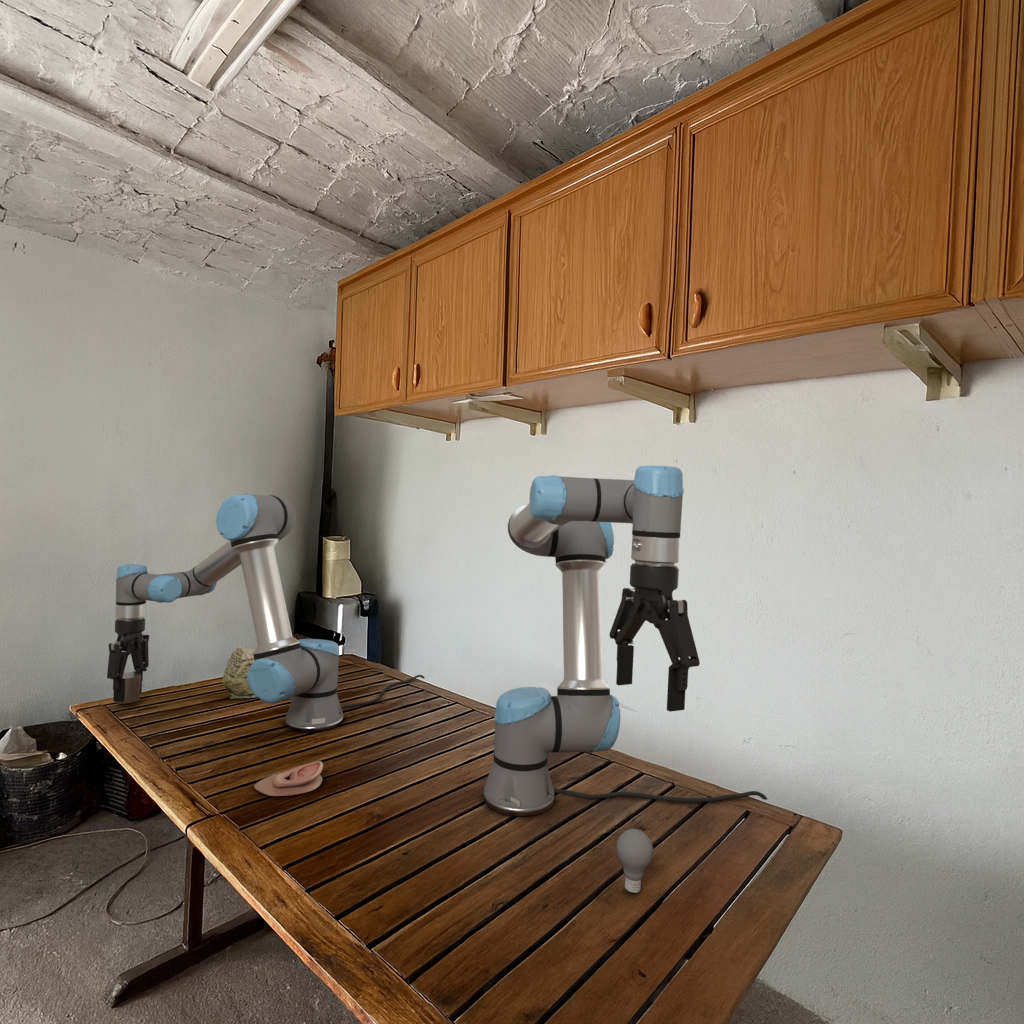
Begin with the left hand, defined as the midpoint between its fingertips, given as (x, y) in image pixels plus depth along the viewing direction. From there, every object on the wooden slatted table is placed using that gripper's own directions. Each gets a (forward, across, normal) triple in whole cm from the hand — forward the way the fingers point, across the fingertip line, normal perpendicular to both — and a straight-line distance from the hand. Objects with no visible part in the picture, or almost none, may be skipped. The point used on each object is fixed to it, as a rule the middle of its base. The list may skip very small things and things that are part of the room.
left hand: (127, 697), depth 183 cm
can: (+1, 0, 0) cm, 1 cm away
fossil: (+2, -18, +29) cm, 34 cm away
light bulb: (+2, +61, +140) cm, 153 cm away
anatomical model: (+2, +37, +68) cm, 77 cm away
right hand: (-32, +66, +140) cm, 158 cm away
